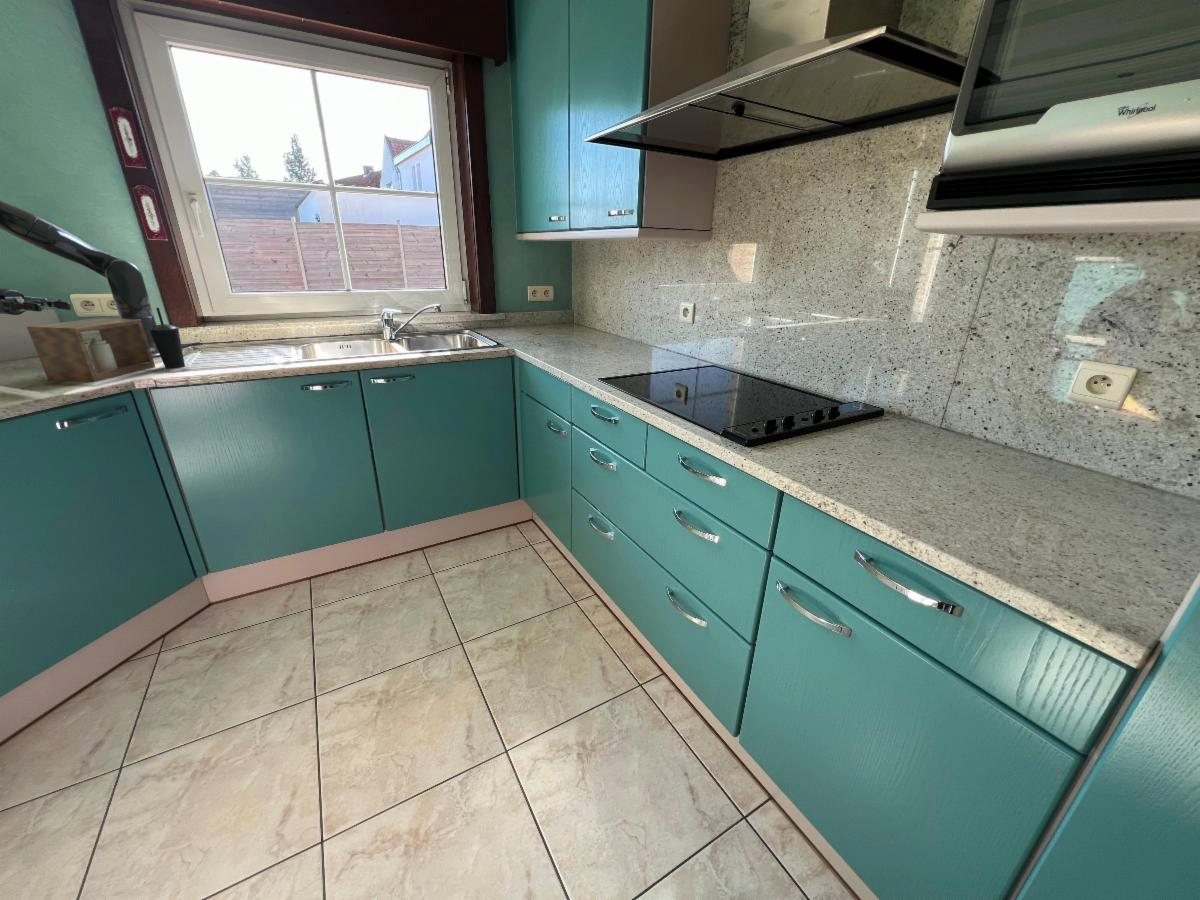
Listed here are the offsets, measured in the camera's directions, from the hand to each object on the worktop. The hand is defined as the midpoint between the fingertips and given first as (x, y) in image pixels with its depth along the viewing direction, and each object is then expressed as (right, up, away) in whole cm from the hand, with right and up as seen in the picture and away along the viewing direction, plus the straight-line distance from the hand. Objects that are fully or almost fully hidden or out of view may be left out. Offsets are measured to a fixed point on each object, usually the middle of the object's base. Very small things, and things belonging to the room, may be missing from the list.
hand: (55, 306), depth 146 cm
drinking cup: (+22, -16, +16) cm, 32 cm away
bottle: (+10, -19, +6) cm, 22 cm away
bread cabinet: (+9, -20, +6) cm, 23 cm away
